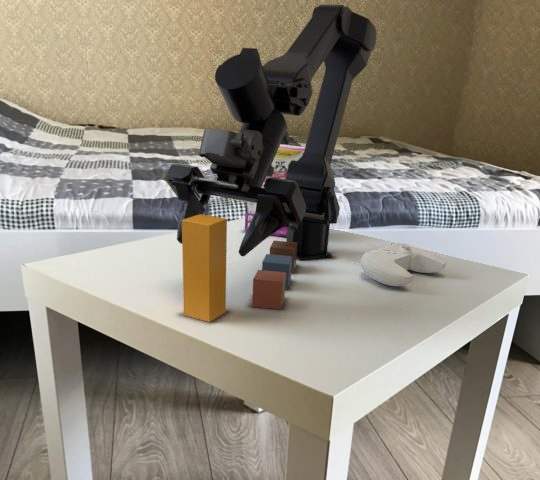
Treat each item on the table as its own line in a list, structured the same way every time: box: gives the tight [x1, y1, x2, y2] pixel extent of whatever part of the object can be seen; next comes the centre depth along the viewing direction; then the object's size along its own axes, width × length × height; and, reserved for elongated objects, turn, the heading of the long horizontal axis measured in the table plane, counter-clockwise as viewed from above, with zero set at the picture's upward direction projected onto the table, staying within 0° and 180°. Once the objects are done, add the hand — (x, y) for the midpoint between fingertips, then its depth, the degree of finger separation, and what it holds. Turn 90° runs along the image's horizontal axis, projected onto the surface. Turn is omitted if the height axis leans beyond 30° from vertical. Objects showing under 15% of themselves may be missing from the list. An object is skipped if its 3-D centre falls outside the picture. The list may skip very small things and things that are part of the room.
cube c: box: [251, 269, 286, 310], centre depth 80 cm, size 4×4×4 cm
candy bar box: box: [244, 144, 305, 238], centre depth 110 cm, size 11×5×16 cm, turn 71°
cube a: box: [269, 240, 298, 274], centre depth 93 cm, size 4×4×4 cm
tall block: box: [181, 214, 228, 323], centre depth 73 cm, size 4×4×12 cm
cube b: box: [261, 253, 292, 291], centre depth 86 cm, size 4×4×4 cm
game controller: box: [358, 242, 447, 287], centre depth 93 cm, size 14×4×10 cm
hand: (209, 248), depth 73 cm, fingers open, 9 cm apart
